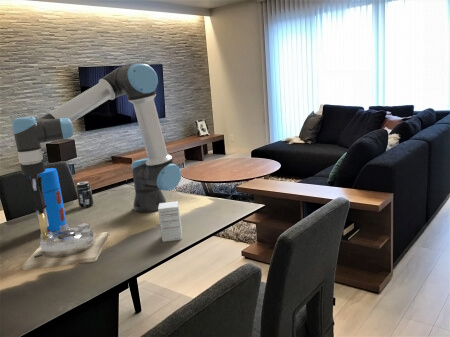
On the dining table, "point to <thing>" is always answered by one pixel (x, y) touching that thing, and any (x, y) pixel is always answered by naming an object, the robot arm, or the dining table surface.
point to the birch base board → (85, 256)
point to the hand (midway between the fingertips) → (44, 226)
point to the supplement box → (170, 221)
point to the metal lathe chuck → (65, 239)
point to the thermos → (53, 199)
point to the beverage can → (84, 194)
